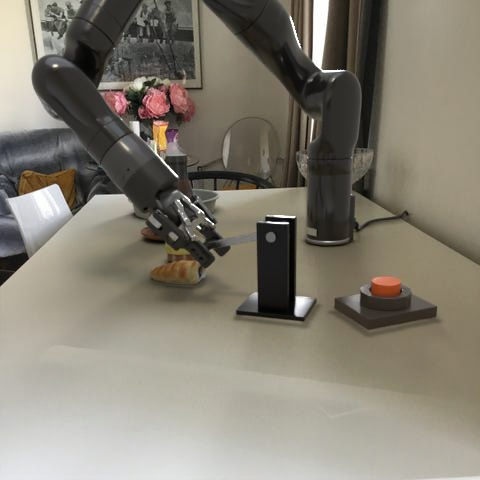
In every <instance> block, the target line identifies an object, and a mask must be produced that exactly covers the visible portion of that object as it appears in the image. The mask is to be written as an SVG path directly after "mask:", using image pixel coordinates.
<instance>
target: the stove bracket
mask: <svg viewBox="0 0 480 480" xmlns="http://www.w3.org/2000/svg"><path fill="white" fill-rule="evenodd" d="M281 221H287V223H284V222H281ZM297 221H298V217H297V216H295V215H273V214H272V215H271V214H267V215H265V216H264V221H261V220H258V221H257V222H255V223H256V225H255V226H256V233H257V240H256V273H257V274H256V275H257V276H256V280H257V282H256V283H257V292H256V291H255V292H252V294H250V295H249V296H248V298H246V300H244V302H243V303H241V305H240V306H239V307H238V308H237V309H236V310H235V315H236V316H237V315H238V316H248V317H257V318H266V319H274V320H285V321H295V322H302V323H303V322H306V320H307V318H308V316H309V315H310V313H311V311H312V310H313V309H314V307H315V306H316V304H317V301H318V297H307V296H297V242H298V241H297V234H298V233H297V231H298V230H297V229H298V228H297V227H298V226H297V225H298V224H297V223H298V222H297ZM289 234H290V238H289Z"/></svg>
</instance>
